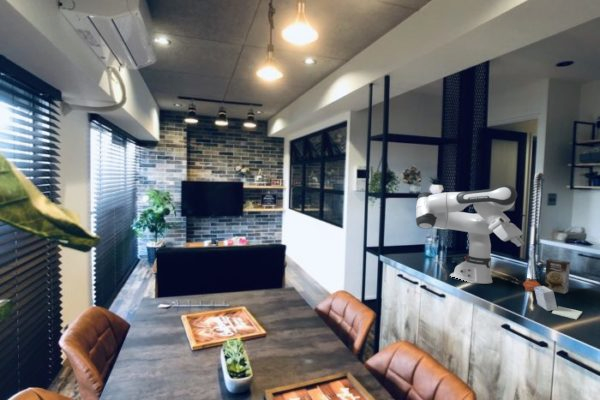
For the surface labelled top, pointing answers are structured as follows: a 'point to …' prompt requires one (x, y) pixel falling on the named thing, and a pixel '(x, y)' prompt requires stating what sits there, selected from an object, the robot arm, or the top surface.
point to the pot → (531, 284)
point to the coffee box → (557, 275)
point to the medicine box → (545, 298)
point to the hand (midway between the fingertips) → (521, 245)
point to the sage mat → (567, 312)
